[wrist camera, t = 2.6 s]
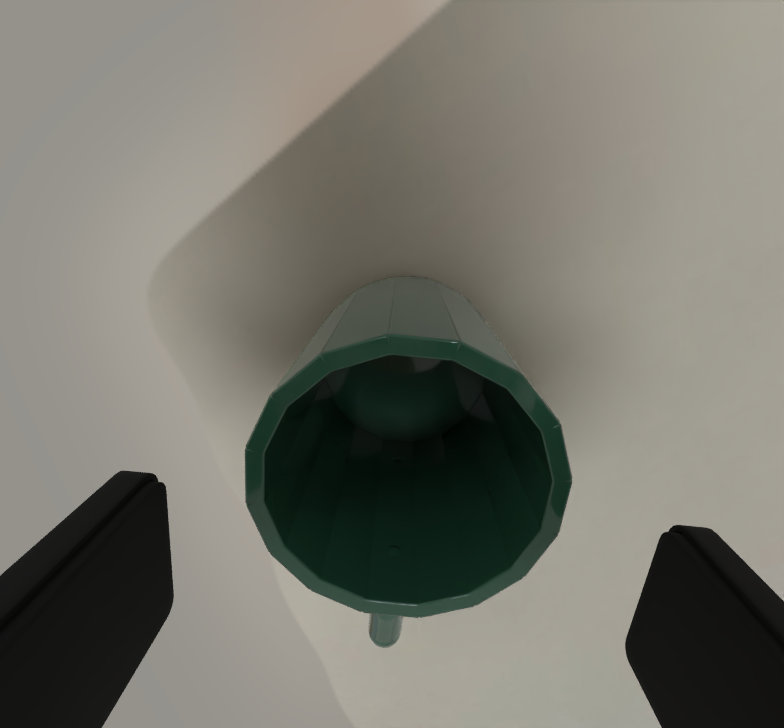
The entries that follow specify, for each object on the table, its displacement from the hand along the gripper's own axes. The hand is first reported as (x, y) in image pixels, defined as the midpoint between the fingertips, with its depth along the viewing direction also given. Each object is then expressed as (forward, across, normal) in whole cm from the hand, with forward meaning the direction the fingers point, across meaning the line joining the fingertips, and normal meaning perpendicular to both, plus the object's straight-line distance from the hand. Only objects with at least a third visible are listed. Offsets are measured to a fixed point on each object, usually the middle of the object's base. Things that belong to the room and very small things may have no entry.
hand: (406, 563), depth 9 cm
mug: (+11, 0, +1) cm, 11 cm away
